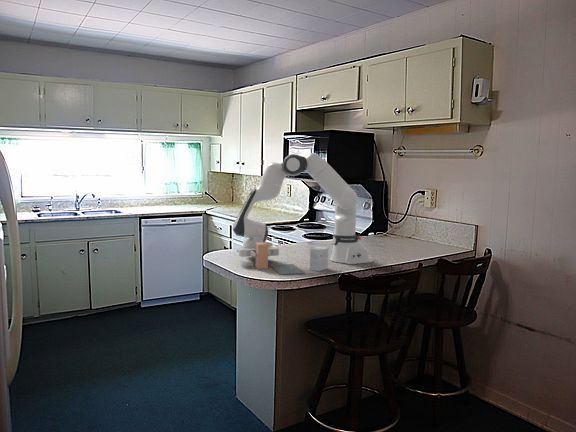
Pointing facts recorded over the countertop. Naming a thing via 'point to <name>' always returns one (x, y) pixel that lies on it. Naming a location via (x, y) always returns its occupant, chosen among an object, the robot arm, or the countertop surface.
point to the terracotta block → (261, 255)
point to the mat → (287, 269)
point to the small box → (319, 258)
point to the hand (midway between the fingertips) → (262, 254)
